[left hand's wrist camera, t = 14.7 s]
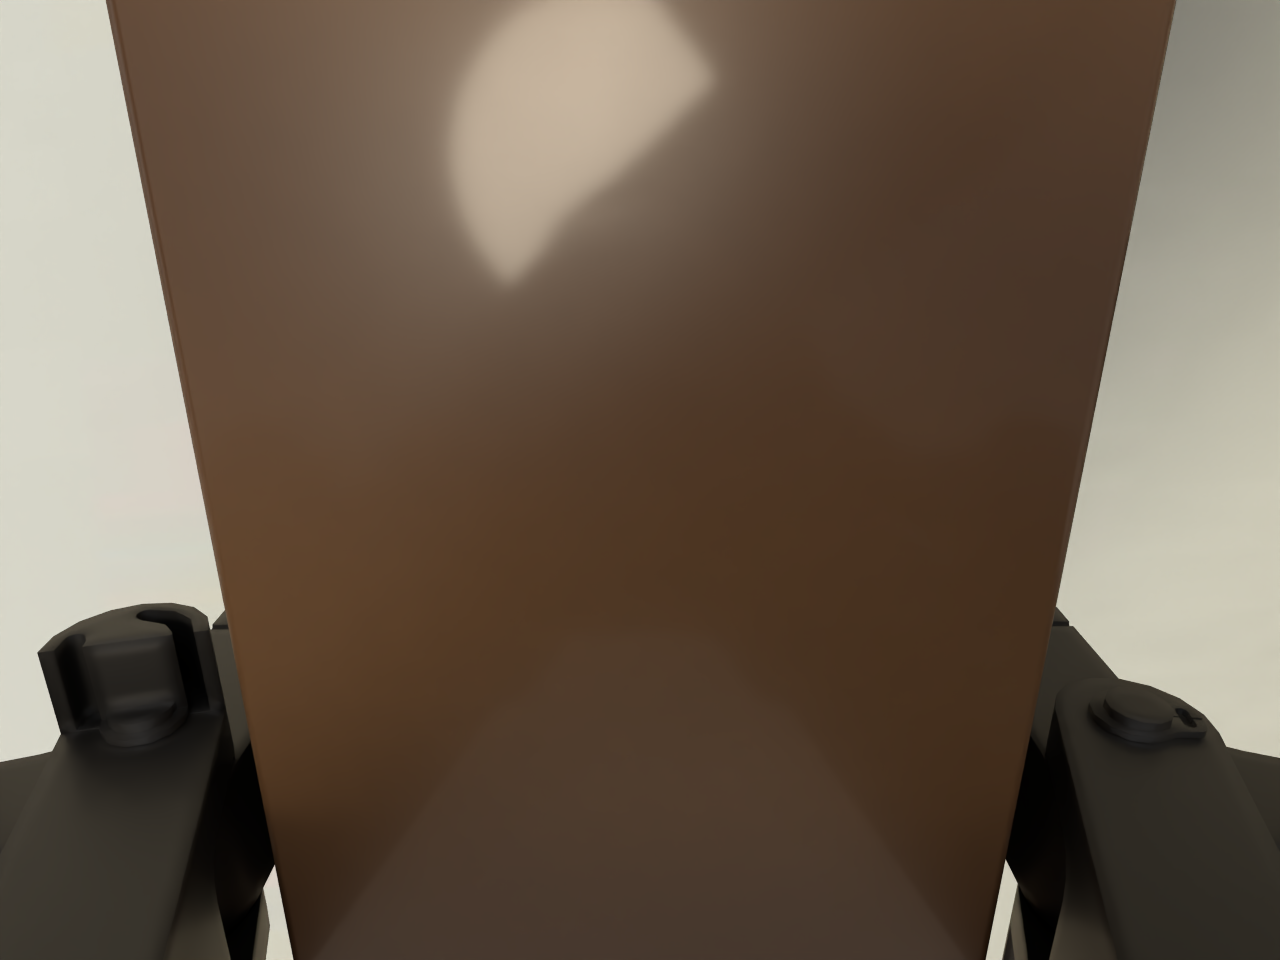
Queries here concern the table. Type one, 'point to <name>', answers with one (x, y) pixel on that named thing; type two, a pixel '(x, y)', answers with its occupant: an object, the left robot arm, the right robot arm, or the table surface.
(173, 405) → the table surface
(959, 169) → the beam
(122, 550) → the table surface
